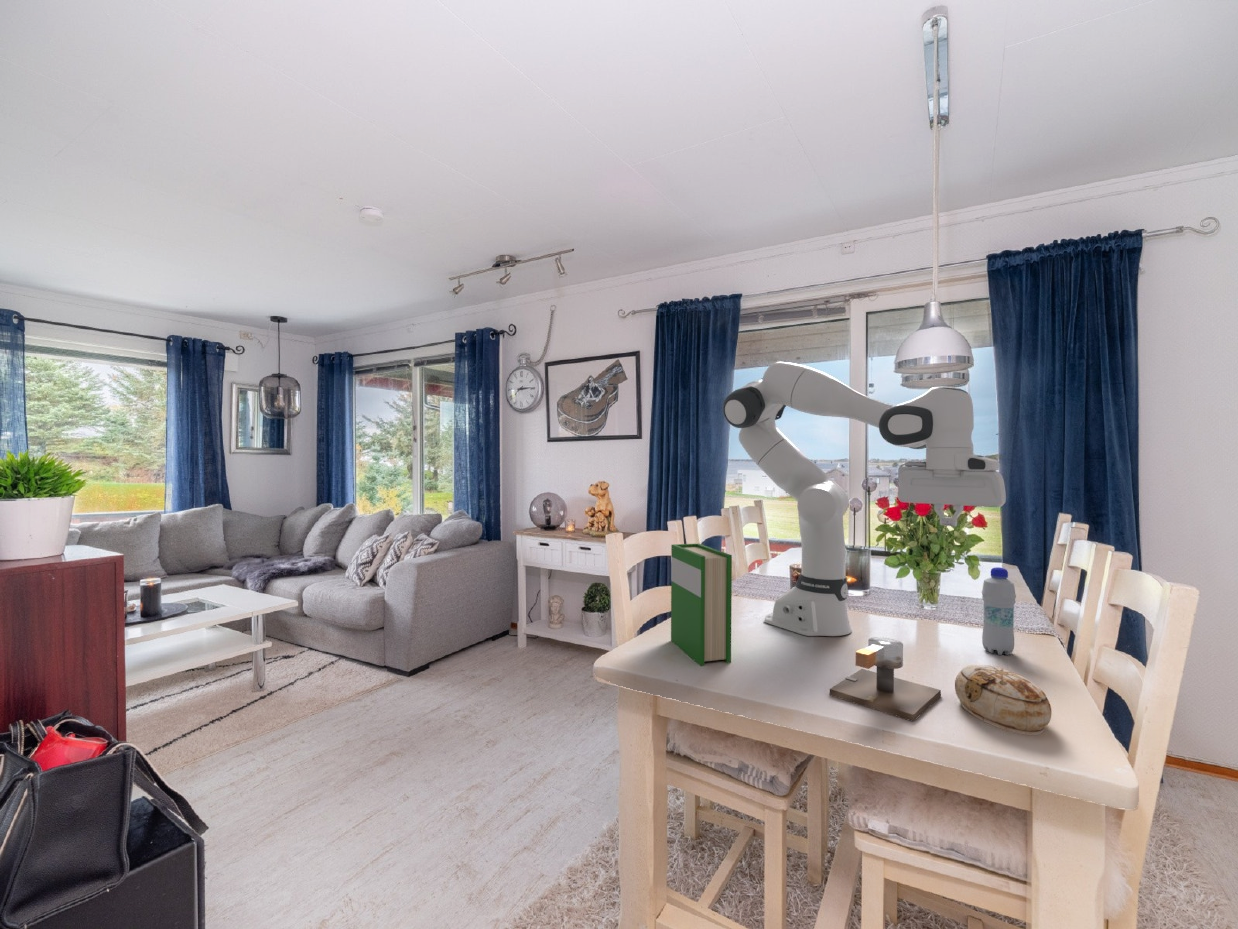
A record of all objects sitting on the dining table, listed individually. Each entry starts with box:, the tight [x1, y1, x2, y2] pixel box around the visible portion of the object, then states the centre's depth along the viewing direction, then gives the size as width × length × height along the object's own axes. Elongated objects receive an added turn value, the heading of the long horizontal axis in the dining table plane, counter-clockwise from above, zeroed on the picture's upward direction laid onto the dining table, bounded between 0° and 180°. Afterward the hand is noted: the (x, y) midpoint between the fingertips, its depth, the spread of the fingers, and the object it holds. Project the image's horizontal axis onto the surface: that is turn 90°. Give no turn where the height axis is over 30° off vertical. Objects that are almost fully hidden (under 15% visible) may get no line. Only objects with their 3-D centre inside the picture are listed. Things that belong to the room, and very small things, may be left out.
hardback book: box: [670, 543, 733, 667], centre depth 132 cm, size 18×7×24 cm, turn 16°
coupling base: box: [829, 666, 942, 722], centre depth 107 cm, size 15×15×6 cm
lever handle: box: [855, 636, 904, 670], centre depth 105 cm, size 13×6×4 cm, turn 132°
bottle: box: [981, 566, 1017, 656], centre depth 132 cm, size 7×7×20 cm
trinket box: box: [954, 664, 1052, 736], centre depth 100 cm, size 13×15×8 cm
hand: (948, 525), depth 121 cm, fingers closed
